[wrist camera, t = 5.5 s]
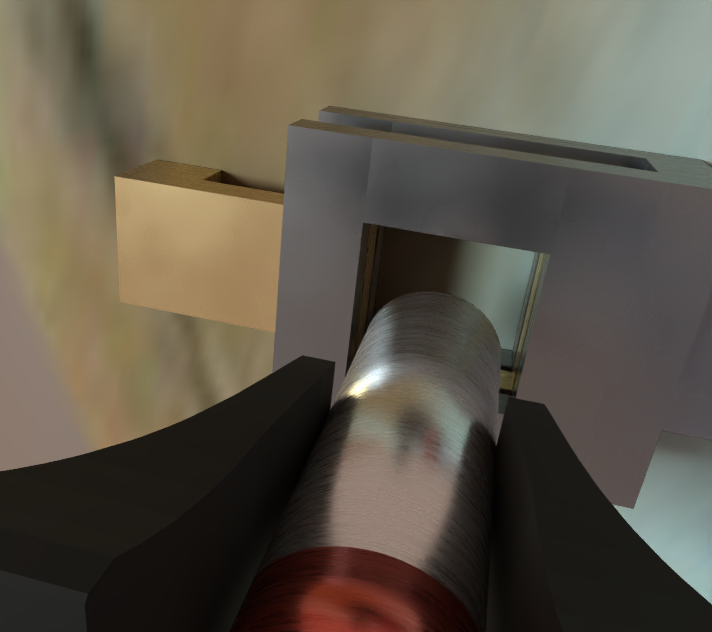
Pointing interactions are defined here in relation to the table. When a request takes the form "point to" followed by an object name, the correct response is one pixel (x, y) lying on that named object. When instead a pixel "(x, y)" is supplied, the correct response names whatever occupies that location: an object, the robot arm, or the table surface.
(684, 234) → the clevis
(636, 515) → the table surface
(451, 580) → the clear red-capped cylinder
